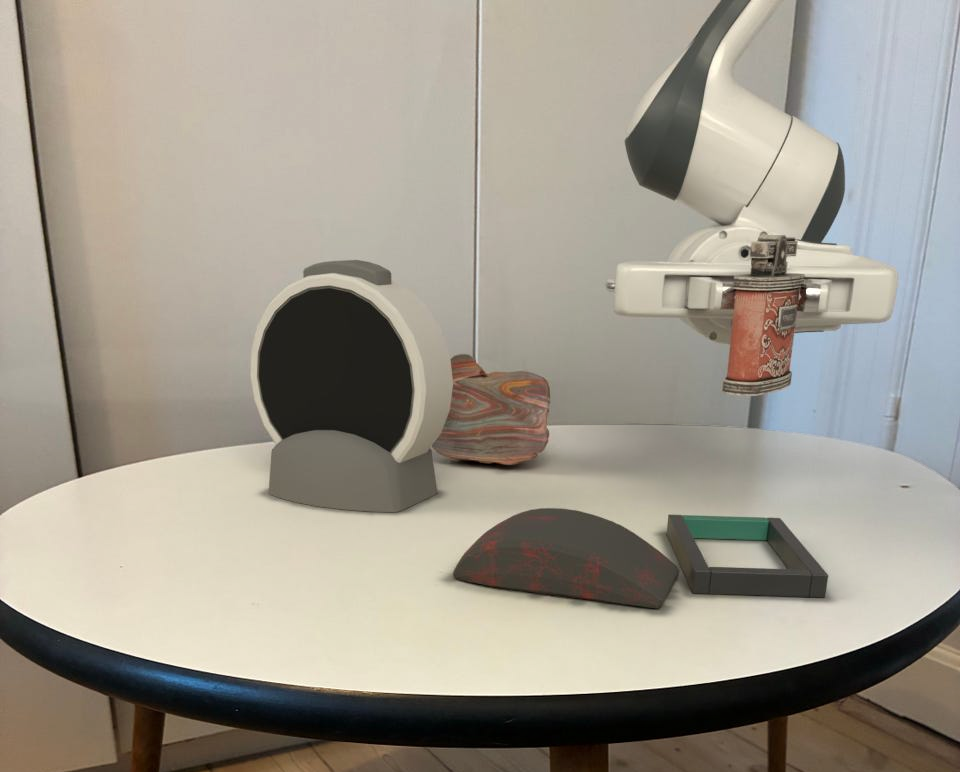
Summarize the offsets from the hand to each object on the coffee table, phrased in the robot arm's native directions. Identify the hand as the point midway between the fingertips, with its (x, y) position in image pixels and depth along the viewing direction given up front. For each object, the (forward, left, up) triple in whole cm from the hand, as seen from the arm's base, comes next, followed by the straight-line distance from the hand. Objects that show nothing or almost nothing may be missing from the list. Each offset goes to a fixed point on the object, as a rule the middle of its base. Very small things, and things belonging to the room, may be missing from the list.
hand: (771, 298), depth 69 cm
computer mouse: (+13, +11, -17) cm, 24 cm away
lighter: (0, -1, -6) cm, 6 cm away
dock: (+1, +6, -17) cm, 18 cm away
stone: (+19, -24, -17) cm, 35 cm away
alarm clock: (+30, -10, -17) cm, 36 cm away
